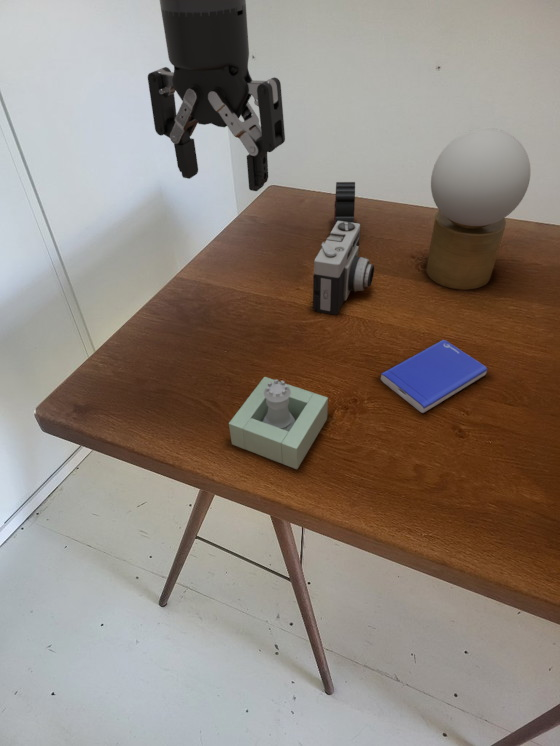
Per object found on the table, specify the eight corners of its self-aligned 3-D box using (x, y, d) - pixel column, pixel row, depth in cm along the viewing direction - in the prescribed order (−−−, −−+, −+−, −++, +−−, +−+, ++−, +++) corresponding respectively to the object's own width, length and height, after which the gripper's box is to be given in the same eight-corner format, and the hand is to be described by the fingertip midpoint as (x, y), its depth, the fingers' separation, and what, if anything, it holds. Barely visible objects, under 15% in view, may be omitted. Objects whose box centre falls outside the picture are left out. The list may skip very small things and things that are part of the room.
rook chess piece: (264, 417, 69) (260, 373, 63) (297, 419, 68) (297, 374, 63) (260, 443, 66) (255, 399, 60) (295, 445, 65) (294, 401, 60)
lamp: (494, 309, 84) (541, 152, 67) (407, 294, 89) (431, 142, 72) (502, 263, 95) (544, 116, 78) (424, 251, 99) (448, 109, 82)
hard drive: (443, 338, 77) (381, 372, 72) (488, 367, 72) (424, 406, 67) (441, 346, 78) (380, 380, 73) (485, 375, 73) (422, 414, 68)
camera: (359, 320, 84) (364, 266, 77) (311, 311, 86) (311, 257, 79) (378, 275, 93) (383, 223, 86) (334, 268, 96) (336, 217, 89)
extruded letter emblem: (352, 260, 97) (356, 203, 90) (334, 260, 98) (336, 203, 90) (350, 216, 110) (353, 163, 103) (334, 216, 111) (336, 164, 103)
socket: (231, 444, 66) (228, 423, 63) (266, 397, 72) (264, 376, 69) (297, 470, 62) (296, 448, 60) (327, 418, 68) (328, 397, 66)
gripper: (112, 5, 46) (150, 185, 57) (252, 11, 41) (264, 207, 52) (163, -7, 51) (188, 161, 62) (294, -4, 46) (296, 179, 57)
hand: (223, 182), depth 57 cm, fingers open, 8 cm apart
